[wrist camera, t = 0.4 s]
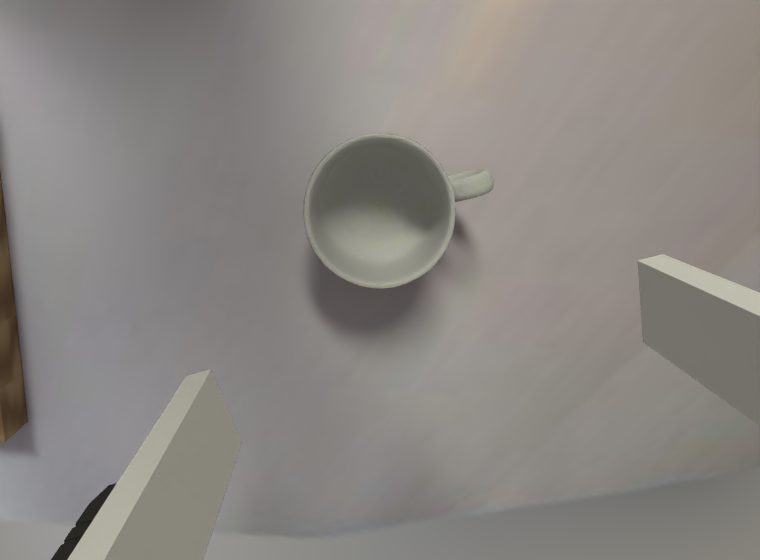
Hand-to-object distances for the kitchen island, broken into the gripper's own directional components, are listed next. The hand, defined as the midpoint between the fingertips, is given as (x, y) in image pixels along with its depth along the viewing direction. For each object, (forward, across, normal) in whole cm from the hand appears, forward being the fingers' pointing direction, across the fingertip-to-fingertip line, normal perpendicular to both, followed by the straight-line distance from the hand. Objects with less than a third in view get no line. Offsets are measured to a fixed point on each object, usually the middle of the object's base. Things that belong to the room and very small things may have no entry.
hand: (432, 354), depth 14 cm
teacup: (+27, +2, 0) cm, 27 cm away
